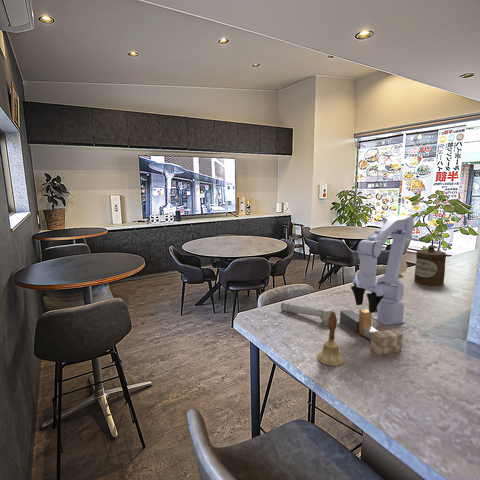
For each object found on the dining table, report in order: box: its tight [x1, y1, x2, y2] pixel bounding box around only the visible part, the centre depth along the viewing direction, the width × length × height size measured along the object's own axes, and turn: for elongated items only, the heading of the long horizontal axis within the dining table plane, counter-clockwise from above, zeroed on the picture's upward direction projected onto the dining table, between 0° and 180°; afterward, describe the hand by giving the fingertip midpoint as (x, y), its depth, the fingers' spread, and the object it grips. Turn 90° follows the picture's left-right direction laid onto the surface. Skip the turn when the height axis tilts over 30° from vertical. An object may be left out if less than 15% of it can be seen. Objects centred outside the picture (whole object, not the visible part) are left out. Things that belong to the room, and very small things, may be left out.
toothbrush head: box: [280, 302, 334, 327], centre depth 129 cm, size 5×7×25 cm
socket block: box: [370, 328, 404, 356], centre depth 101 cm, size 9×4×6 cm, turn 104°
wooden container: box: [414, 244, 447, 287], centre depth 175 cm, size 15×15×22 cm
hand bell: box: [316, 311, 345, 367], centre depth 95 cm, size 8×8×16 cm
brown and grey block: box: [358, 308, 379, 341], centre depth 114 cm, size 4×16×9 cm, turn 14°
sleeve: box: [339, 309, 359, 335], centre depth 119 cm, size 5×11×5 cm, turn 14°
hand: (365, 308), depth 111 cm, fingers open, 7 cm apart
